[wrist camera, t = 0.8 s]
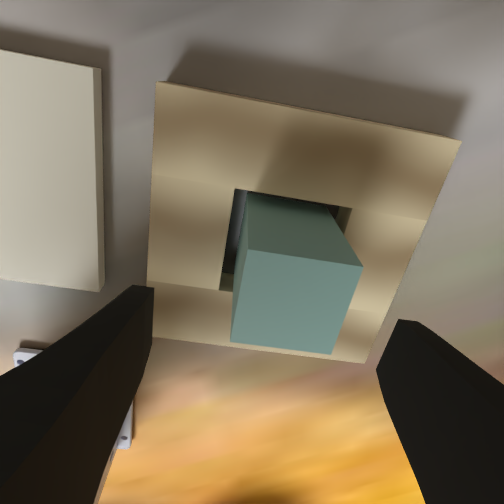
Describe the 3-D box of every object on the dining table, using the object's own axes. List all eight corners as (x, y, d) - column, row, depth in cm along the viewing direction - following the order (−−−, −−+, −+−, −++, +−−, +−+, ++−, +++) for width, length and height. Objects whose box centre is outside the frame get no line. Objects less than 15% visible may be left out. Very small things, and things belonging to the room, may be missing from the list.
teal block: (306, 273, 21) (330, 354, 15) (234, 263, 21) (229, 341, 15) (325, 205, 19) (363, 266, 13) (247, 192, 19) (247, 249, 13)
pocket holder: (355, 342, 24) (364, 363, 22) (152, 315, 22) (144, 335, 21) (440, 134, 18) (461, 141, 16) (165, 81, 16) (155, 81, 14)
